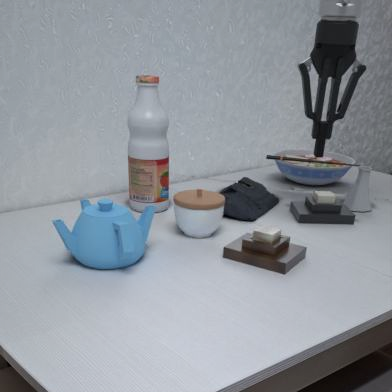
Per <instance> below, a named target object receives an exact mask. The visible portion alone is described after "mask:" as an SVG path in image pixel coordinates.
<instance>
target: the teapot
mask: <svg viewBox="0 0 392 392" xmlns="http://www.w3.org/2000/svg"><path fill="white" fill-rule="evenodd" d="M79 202H80V208H81V212H80V213H79V215H78V217H77V219H76V220H75V223H74V225H73V227H72V230H70V229H69V228H68V226H67V225H66V224H65V222H64V220H63V219H62V218H58V219H53V220H51V221H52V224H53V226H54V228H55V230H56V232H57V234H58V235H59V237H60V239H61V241H62V243H63V245H64V247H65V248H66V250H67V251H68V252H69V253H71V255H72V256H73V257H74V258H75V259H76V260H77V261H78V262H79V263H80V264H82V265H83V266H86V267H88V268H92V269H98V270H116V269H122V268H123V269H124V268H127V267H129V266H132V265H134V264H135V263H137V262H138V261H139V260H140V259H141V257H142V256H143V255H144V253H145V251H146V242H147V241H148V237H149V233H150V230H151V226H152V223H153V220H154V216H155V213H156V212H155V209H156V207H155V206H154V205H148V206H146V208H145V209H144V211H143V212H141V214H140V216H139V218H138V219H136V217H135V215H134V214H133V213H132V211H131V210H130V209H129V208H128V207H126V206H125V205H123V204H118V203H114V200H113V199H110V198H100V199H98V200H97V201H96V202H97V203H95V204H92V203H91V202H90V200H89V199H87V198H84V199H79Z"/></svg>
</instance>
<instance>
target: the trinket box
mask: <svg viewBox="0 0 392 392" xmlns="http://www.w3.org/2000/svg"><path fill="white" fill-rule="evenodd" d="M172 200H173V213H174V219H175V221H176V224H177V227H179V229H180V230H181V231H183V234H184V235H185V236H187V237H189V238H197V239H204V238H208V237H210V236H212V235H213V233H214V232H216V231H217V229H218V228H219V227H220V225H221V223H222V220H223V217H224V214H223V213H224V204H225V197H224V196H223V195H222V194H219V192H216V191H213V190H207V189H203V188H202V187H197V188H196V189H186V190H181V191H178V192H176V193H174V195H173V199H172Z"/></svg>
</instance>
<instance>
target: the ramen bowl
mask: <svg viewBox="0 0 392 392" xmlns="http://www.w3.org/2000/svg"><path fill="white" fill-rule="evenodd" d="M265 159H266V160H274V162H275V164H276V167H277V168H278V170H279V172H280V173H281V175H282V176H284V177H285V178H287V179H288V180H290V181H292V182H294V183H296V184H299V185H305V186H315V187H317V186H318V187H319V186H325V185H329V184H333V183H335V182H337V181H339V180H341V179H343V178H344V176H345V175H346V174H347V173H348V171H350V169H352V167H359V166H361V164H355V163H356V160H355V159H354V158H352V157H351V156H348V155H345V154H342V153H338V152H333V151H328V150H324V154H323V157H315V156H314V149H307V148H293V149H291V148H290V149H281V150H277V151H275V152H274V153H272V154H266V157H265Z"/></svg>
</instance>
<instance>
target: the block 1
mask: <svg viewBox="0 0 392 392" xmlns="http://www.w3.org/2000/svg"><path fill="white" fill-rule="evenodd" d="M290 241H291V236H288V235H284V234H281V237H280V239H279V240H278V241H277V242H275V243H274V244H269V243H265V242H261V241H257V240H253V232H252V233H251V232H246V233H245V234H242V235H241V236H239V237H238V238H236V239H234V240H232V241H231V242H230V243H228V244H226V245H224V246H223V250H222V258H224V259H226V260H230V261H234V262H238V263H241V264H244V265H247V266H251V267H255V268H259V269H263V270H266V271H270V272H273V273H274V272H275V273H277V274H281V275H283V276H284V275H286V274H287V273H289V272H290V271H291V270H292V269H293V268H295V267H296V266H297V265H298V264H299V263H300V262H302V261H303V260H304V259H305V258H306V254H307V249H308V247H307V246H304V245H300V244H296V243H293V242H290Z"/></svg>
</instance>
